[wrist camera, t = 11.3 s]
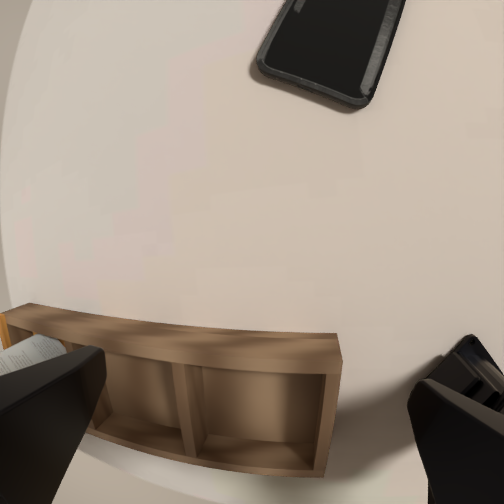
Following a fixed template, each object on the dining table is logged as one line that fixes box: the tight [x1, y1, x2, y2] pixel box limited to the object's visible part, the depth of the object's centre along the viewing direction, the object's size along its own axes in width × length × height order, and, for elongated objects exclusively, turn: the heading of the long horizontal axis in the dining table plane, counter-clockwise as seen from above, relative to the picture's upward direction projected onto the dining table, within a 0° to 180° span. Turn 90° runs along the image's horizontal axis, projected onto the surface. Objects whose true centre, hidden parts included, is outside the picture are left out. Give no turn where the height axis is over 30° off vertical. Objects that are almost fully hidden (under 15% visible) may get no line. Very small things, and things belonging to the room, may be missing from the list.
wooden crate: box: [0, 303, 343, 477], centre depth 20 cm, size 27×10×5 cm, turn 91°
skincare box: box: [0, 333, 67, 376], centre depth 16 cm, size 6×4×12 cm
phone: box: [256, 0, 406, 109], centre depth 16 cm, size 8×1×15 cm
